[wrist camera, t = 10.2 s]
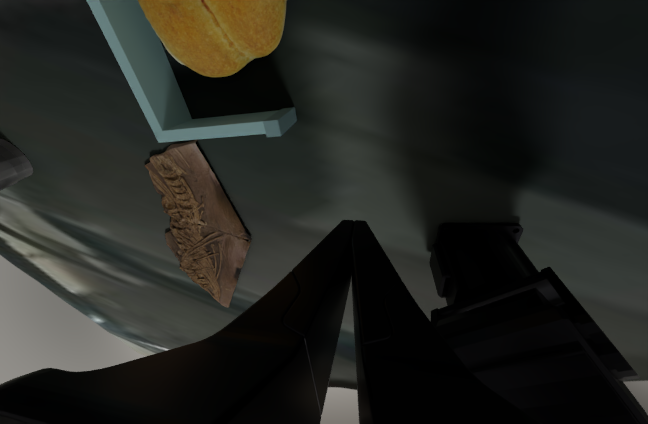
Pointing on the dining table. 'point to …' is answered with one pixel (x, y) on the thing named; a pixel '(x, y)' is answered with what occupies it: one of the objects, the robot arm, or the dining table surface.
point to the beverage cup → (12, 165)
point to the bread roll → (216, 31)
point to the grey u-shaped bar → (170, 81)
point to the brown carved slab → (199, 220)
